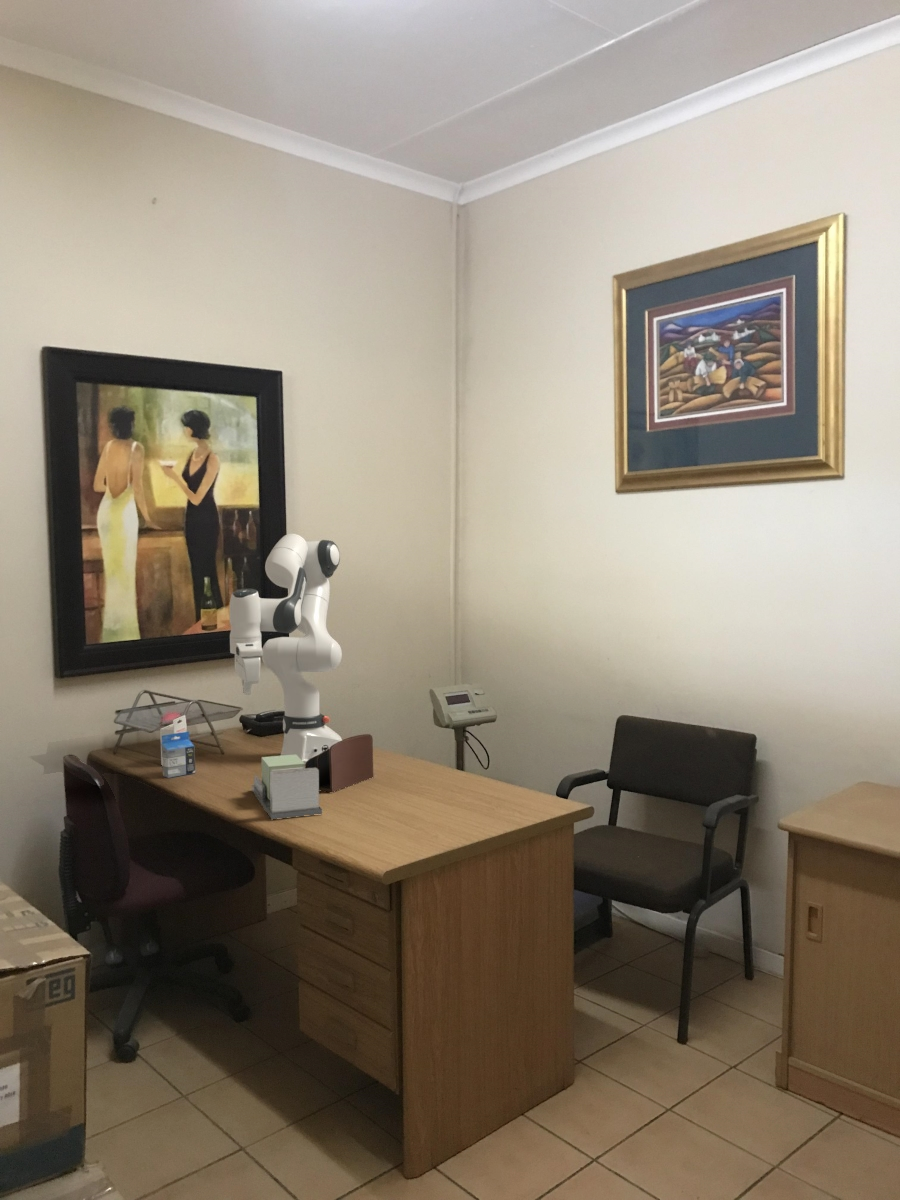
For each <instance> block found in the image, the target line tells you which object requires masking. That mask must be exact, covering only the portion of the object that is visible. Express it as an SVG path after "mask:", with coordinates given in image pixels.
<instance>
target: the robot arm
mask: <svg viewBox="0 0 900 1200" xmlns="http://www.w3.org/2000/svg"><path fill="white" fill-rule="evenodd" d="M340 560H341V553H340V549H339V547H338V545H337V544H336V542H335V541H333V540H329V539H328V540H327V539H321V540H308V541H307V540H306V539H305V538H304V537H303V536H301V535H300V534H297V533H288V534H285V535H283V536H282V537H281V538H280V539H279V540H278V542H276V544H275V545H274V547H273V548H272V549H271V551H270V553H269V554H268V556H267V558H266V560H265V566H264V570H265V573H266V576H267V578H268V579H269V580H270V581H271V582H272V583H273V584H274V585H276V586H279V587H280V588H284V589H288V593H287V594H288V595H287V596H285V597H282V598H262V597H260V595H259V591H258V590H257V589H254V588H242V589H241V588H240V589H237V590H234V591H233V592H232V593H231V595H230V599H229V600H230V601H229V611H228V612H229V613H228V616H229V617H228V618H229V619H228V621H229V624H230V632H229V651H230V652H229V653H230V654H233V655H234V672H235V674H236V675H237V676H238V677H239V678H240V679H241V685H242V693H243V694H244V695H245V696H250V695H251V694H252V685H253V684H258V683H259V682H260V677H261V660H262V662H263V664H264V666H265V667H266V668H267V669H268V670H270V671H271V672H272V673H273V674H274V676H276V678H277V680H278V681H279V683H280V685H281V688H282V691H283V692H282V693H283V702H284V714H283V716H282V717H283V718H282V731H283V743H282V749H281V753H280V756H283V755H295V754H296V755H297V756H298V757H299V758H300V759H301V760H302V761H303V762H304V763H305V764H306V762H307V761H308V760H309V759H311V758H313V757H314V756H317V755H319V754H320V753H322V752H324V751H326V750H328V749H330V747H331V746H332V745H334V744H335V743H337V742H340V741H342V740H343V739H342V736H340V734H339V733H337V732H336V731H334V730H333V729H332V728H330V727H329V726H328V725H326V724H329V723H330V717H329V716H328V715H327V716H326V715H324V714H322V713H320V691H319V689H318V688H317V687H316V685H314V684H313V683H311V682H309V681H307V680H306V679H305V677H304V676H303V673H325V672H329V671H330V672H331V671H335V670H336V669H337V668H338V667H339V665H340V664H341V661H342V658H343V651H342V647H341V646H340V644H339V642H338V641H336V639H334V638H333V637H332V636H331V635H330V633H329V631H328V628H327V617H328V609H329V604H330V597H331V596H330V595H331V593H330V592H331V588H330V587H331V585H330V584H331V583H330V581H329V578H331V577H333V575H334V573H335V571H336V570H337V569H338V567H339V565H340ZM295 630H298V632H301V633H303V634H304V635H305V636H302V637H301V636H298V637H297V636H280V637H274V638H269V639H268V640H267V641H266V642H264V644H263V647H262V632H273V633H275V632H277V633H282V634H291V633H293V632H294V631H295Z"/></svg>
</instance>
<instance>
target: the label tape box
mask: <svg viewBox="0 0 900 1200" xmlns="http://www.w3.org/2000/svg"><path fill="white" fill-rule="evenodd" d="M175 736H176V737H180V738H179V739H173V740H171V738H174V737H175ZM161 767H162V776H163V777H165V778H168V779H169V778H170V779H171V778H174V777H175V778H176V777H179V776H186V775H190V774H191V775H192V774H195V773H196V755H195V745H194V744H193V742H192V741H191V740H190V731H188V730H187V732H182V733H175V734H169V735H162V766H161Z"/></svg>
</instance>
